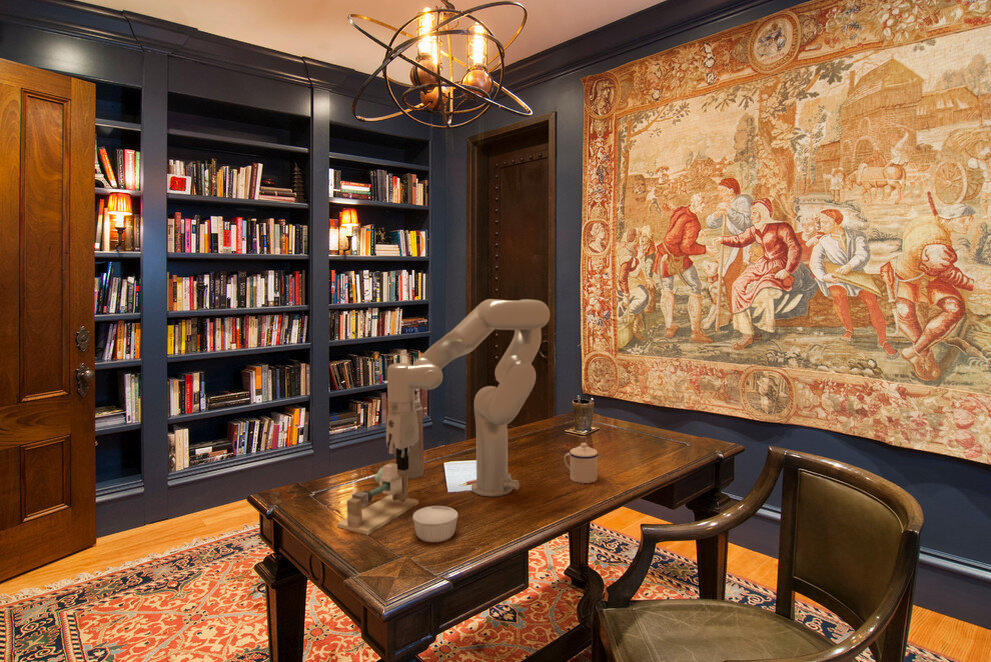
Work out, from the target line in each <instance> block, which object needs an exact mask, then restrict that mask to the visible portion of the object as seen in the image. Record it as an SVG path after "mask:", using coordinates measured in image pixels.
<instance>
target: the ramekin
mask: <svg viewBox="0 0 991 662" xmlns="http://www.w3.org/2000/svg"><path fill="white" fill-rule="evenodd" d="M458 517H459V513H458V511H457V510H455V509H454V508H452V507H450V506H449V507H448V506H444V505H431V506H425V507H422V508H420V509H417V510H415V512H414V513H413V515H412V521H413V523H414V524H413V525H414V529H415V533H416V534H415V535H416V537H418V538H419V539H420V540H421V541H424V542H427V543H439V542H441V543H442V542H444V541H448V540H449V539H451V538H452V537H453V536H454V535H455V532H456V527H457V521H458Z"/></svg>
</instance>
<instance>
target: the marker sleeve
mask: <svg viewBox="0 0 991 662" xmlns="http://www.w3.org/2000/svg"><path fill="white" fill-rule="evenodd" d="M383 467H384V475H383V476H381V477H380V485H379V486H381V485H383V484H385V483H387V482H390V488H388V489H386V490H385V491H383V492H381V493H380V494H385V495H395V494H397V493H398V492H400V491H402V475H398V474H399V473H398V472H397V471H398V470H397V464H396V463H393V462H390V463H387V464H385V465H383Z"/></svg>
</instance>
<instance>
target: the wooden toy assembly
mask: <svg viewBox="0 0 991 662" xmlns="http://www.w3.org/2000/svg"><path fill="white" fill-rule="evenodd" d="M397 474H398V475H402V491H400V492H398V493H397V494H395V495H389V494H387V496H384V497H382V498H380V499H379V500H377V501H376V502H374V503H372V504H370V505H369V503H371V502H372V499H373V497H376V495H378V494H382V493H381V492H383V491H385V490H386V489H388V488H390V482H387V483H385V484H383V485H381V486H380V485H379V486H378V487H376V488H374V489H372V490H370V491H369V490H367V489H366V490H363V491H356V492H354V493H353V494H351V498H348V499H347V500H346V507H347V508H346V509H347V517H346V518H344V519H343V520H342V521H339V522H338V523H337V525H336V527H337V528H338V527H339V529H342V528H343V530H346V529H347V530H346V531H351V532H353V533H354V532H355V533H358V534H361V535H362V534H363V535H366V536H368V535H370V534H372V533H373V532H375V531H377V530H378V529H380V528H381V527H383V526H384V525H386V524H388V523H389V522H391V521H393V520H394V519H396V518H398V517H400V516H401V515H402V514H404V513H406V512H407V511H409V510H411V509H412V508H414V507H415V506H417V505H419V499H415V498H411V497H409V479H408V475H404V474H399V473H397Z"/></svg>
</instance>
